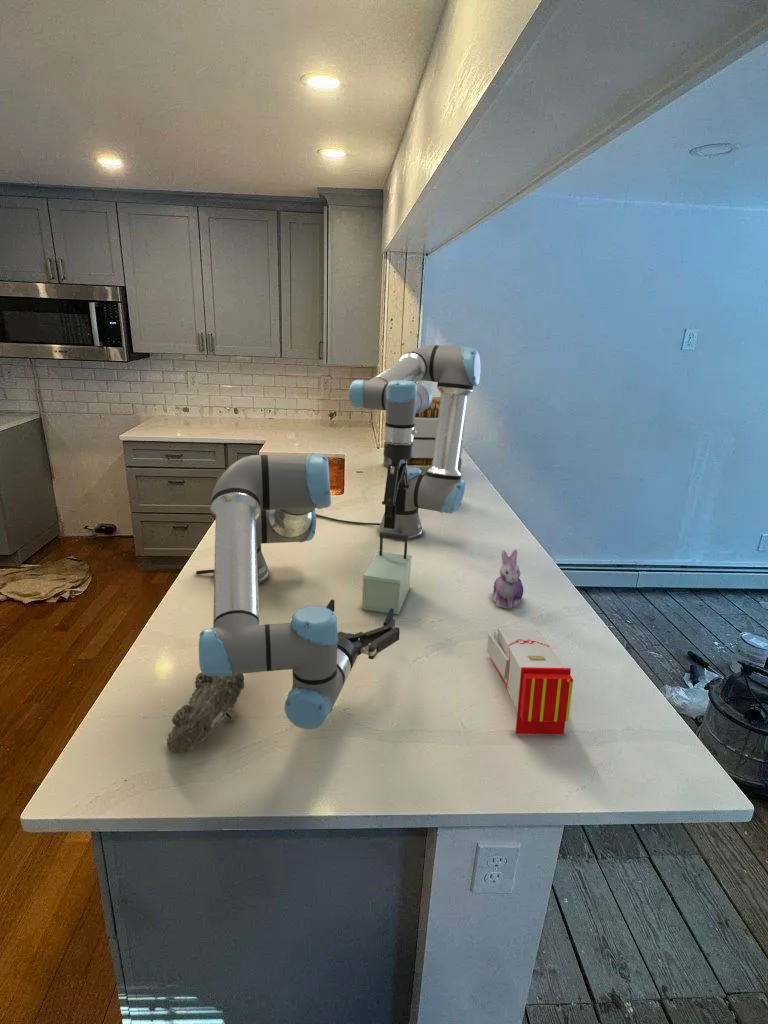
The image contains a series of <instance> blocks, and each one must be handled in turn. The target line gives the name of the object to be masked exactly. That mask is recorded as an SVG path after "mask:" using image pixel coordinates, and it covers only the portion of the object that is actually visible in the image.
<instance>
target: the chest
mask: <svg viewBox="0 0 768 1024" xmlns="http://www.w3.org/2000/svg"><path fill="white" fill-rule="evenodd" d="M411 565H412V560H411V561H410V563H409V566H408V568H407V570H406V572H405V574H404V576H403V579H402V581H401V583H400V584H397V583H390V582H383V581H376V580H369V579H363V578H362V603H361V608H362V610H366V611H373V612H379V613H385V614H388V613H389V610H390V608H392V609H394V614H393V615H400V612H401V610H402V607H403V605H404V602H405V600H406V598H407V595H408V592H409V590H410V584H411V583H410V580H411Z"/></svg>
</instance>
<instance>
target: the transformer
mask: <svg viewBox="0 0 768 1024" xmlns="http://www.w3.org/2000/svg"><path fill="white" fill-rule="evenodd" d="M440 398H441V396H432V402H431V405H430V406H429V407H428V408H427V409H426V410H425V411H424V412H421V413H418V414H415V426H414V431H416V434H414V439H413V442H411V443H412V444H413V456H412V458H410V459H407V467H417V466H418V467H431V466H432V461H433V453H434V445H435V437H436V429H437V421H438V413H439V406H440ZM464 422H465V419H464ZM464 429H465V423H464V424H463V431H462V438H461V446H460V453H459V461H458V471H459V472H460V473H461V472H462V461H463V460H462V453H463V442H464V441H463V440H462V439H463V438H464V431H465V430H464ZM385 442H387V441H384V442H383V444H384V443H385ZM391 462H392V460H391V459H390V458H386V457H385V456H384V455H383V466H384V467H387V468H388V466H389V465H391ZM461 474H462V473H461Z"/></svg>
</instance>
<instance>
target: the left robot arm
mask: <svg viewBox="0 0 768 1024" xmlns="http://www.w3.org/2000/svg"><path fill="white" fill-rule="evenodd" d="M329 465H330V464H329V459H328V457H327V456H326V455H325V454H322V453H321V454H320V453H313V452H310V453H298V454H294V453H293V454H289V453H287V454H252V455H251V454H250V455H247V456H244V457H242V458H240V459H238V460H236V461H235V462H234V463H233V464H231V465H230V466H229V467H227V468H226V470H224V472H223V473H222V475H221V476H220V477H219V478H218V480H217V482H216V483H215V486H214V488H213V490H212V492H211V497H210V515H211V517H212V518H213V519H214V521H215V529H214V531H215V534H214V535H215V536H214V538H215V539H214V569H201V570H196V571H195V574H196V575H204V574H206V575H207V574H213V624H212V627H210V628H206V629H203V630H201V632H200V633H199V638H198V662H199V670H200V673H201V672H202V673H203V674H204V675H205V676H232V675H236V674H243V675H245V674H252V673H262V672H263V673H264V672H276V671H277V672H278V671H286V670H287V671H288V670H289V671H290V670H291V671H292V686H291V687H292V688H291V690H290V691H289V692H288V694H287V697H286V699H285V702H284V713H285V716H286V718H287V719H288V721H289V722H290V723H292V724H293V725H294V726H295V727H297V728H300V729H302V730H309V731H311V730H316V729H319V728H320V727H321V726H323V725H324V724H325V722H326V721H327V719H328V718H329V716H330V715H331V714H332V712H333V710H334V709H333V708H334V706H335V704H336V702H337V700H338V697H339V696H340V693H341V692H342V689H343V687H344V685H345V683H346V681H347V679H348V677H349V676H350V673H351V671H352V670H353V667H354V666H355V663H356V661H357V658H358V657H359V656H360V655H367V658H368V659H369V660H374V659H375V658H376V657H377V655H378V654H380V653H381V652H383V651H384V650H385V649H387V648H388V647H390V646H391V645H394V644H395V643H396V642H398V641H399V640H400V633H401V629H400V627H399V626H398V627H396V619H395V618H394V615H395V614H394V609H392V608H390V610H389V613H387V615H386V617H385V619H384V621H383V625H382V626H380V627H377V628H374V629H371V630H369V631H366V632H363V631H360V632H357V633H351V632H344V631H338V618H337V616H336V614H335V613H334V612H335V599H330V600H329V602H328V603H327V605H326V606H321V605H306V606H305V607H300V608H298V609H296V610H295V611H294V612H293V613H292V615H291V620H290V622H280V623H267V624H266V623H265V624H260V605H259V604H260V603H259V600H260V599H259V585H261V584H264V583H265V581H267V580H268V578H269V568H268V564H267V562H266V559H265V557H264V555H263V552H262V545H263V544H281V543H282V544H283V543H305V542H310V541H312V540H313V539H314V537H315V535H316V528H317V516H316V514H317V513H316V509H317V510H322V509H326V508H327V509H328V508H329V507H331V505H332V500H331V499H332V498H331V497H332V496H331V483H330V482H331V481H330V466H329Z"/></svg>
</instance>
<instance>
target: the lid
mask: <svg viewBox="0 0 768 1024" xmlns="http://www.w3.org/2000/svg"><path fill="white" fill-rule="evenodd" d="M378 536H379V537H378V538H379V550H377V552H376V554H375V555H374V557H373V558H372V560H371V562H370V563H369V565H368V567H367V568H366V570H365V572H364V573H363V577H362V580H363V579H369V580H376V581H383V582H390V583H397V584H400V583H401V581H402V579H403V576H404V574H405V572H406V570H407V568H408V566H409V563H410V561H411V562H412V557H413V555H410V554H409V555H408V542H409V540H408V539H409V535H404V534H396V533H388V532H379V535H378ZM385 539H386V540H394V541H401V542H402V541H403V542H404V546H403V547H404V548H403V554H401V553H395V552H394V553H393V552H386V551H383V547H384V540H385Z"/></svg>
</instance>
